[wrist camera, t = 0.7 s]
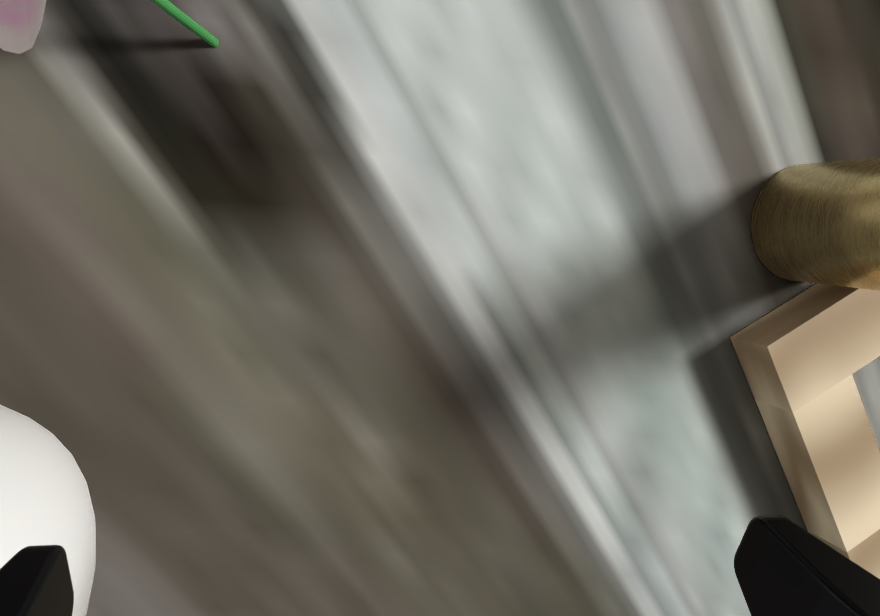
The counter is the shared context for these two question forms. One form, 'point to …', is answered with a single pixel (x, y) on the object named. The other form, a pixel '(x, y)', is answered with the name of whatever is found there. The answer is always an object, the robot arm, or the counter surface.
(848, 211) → the brass cylinder peg
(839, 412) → the jig
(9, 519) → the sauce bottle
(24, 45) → the lily
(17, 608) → the robot arm
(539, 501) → the counter surface
